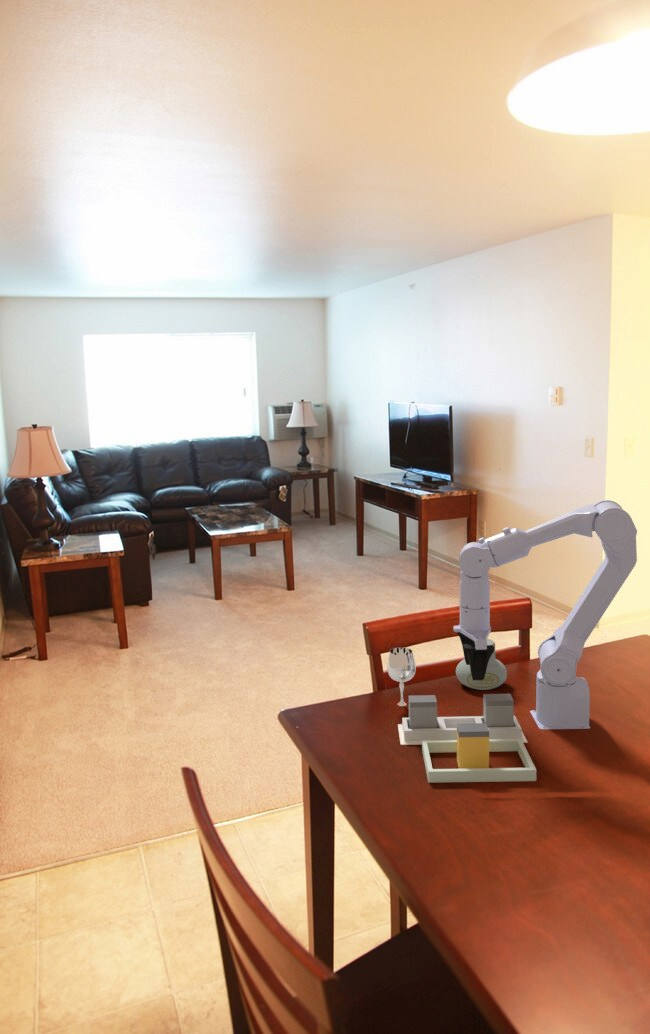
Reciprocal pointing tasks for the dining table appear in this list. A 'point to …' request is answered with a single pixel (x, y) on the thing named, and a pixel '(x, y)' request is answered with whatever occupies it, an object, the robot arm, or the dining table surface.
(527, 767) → the tray
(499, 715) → the block
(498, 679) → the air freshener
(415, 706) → the block
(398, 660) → the wineglass
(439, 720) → the fuse holder
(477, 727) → the block
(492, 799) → the dining table surface
